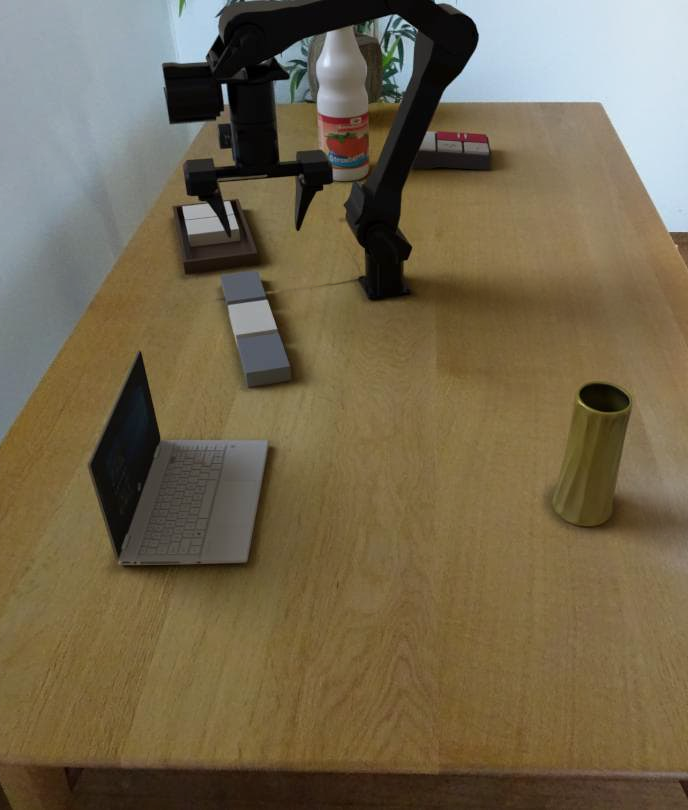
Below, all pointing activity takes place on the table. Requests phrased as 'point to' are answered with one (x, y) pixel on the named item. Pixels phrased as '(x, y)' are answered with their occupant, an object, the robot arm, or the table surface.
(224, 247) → the book tray
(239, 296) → the grey rectangular block
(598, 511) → the vase
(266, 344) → the gray flat block
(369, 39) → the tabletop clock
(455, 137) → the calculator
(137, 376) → the laptop
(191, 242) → the white notebook
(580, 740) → the table surface
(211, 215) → the white notebook
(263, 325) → the white flat block
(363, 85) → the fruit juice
